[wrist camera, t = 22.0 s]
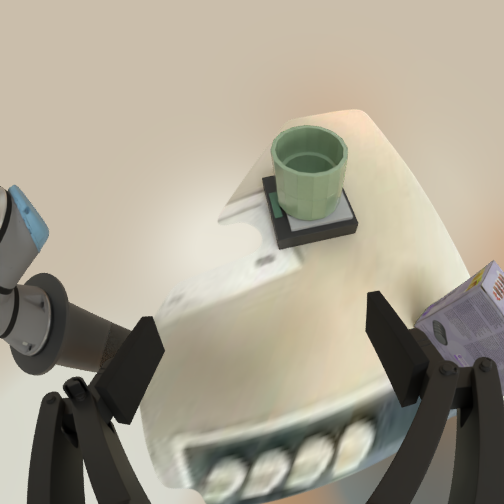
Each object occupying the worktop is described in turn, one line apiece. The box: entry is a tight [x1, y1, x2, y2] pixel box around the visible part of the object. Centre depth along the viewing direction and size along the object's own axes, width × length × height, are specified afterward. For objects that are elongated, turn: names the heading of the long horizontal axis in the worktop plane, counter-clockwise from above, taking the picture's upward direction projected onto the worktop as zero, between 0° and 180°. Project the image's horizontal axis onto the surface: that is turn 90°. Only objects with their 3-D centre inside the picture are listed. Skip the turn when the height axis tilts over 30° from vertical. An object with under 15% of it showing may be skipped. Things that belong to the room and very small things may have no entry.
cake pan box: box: [414, 260, 504, 396], centre depth 24 cm, size 19×5×18 cm, turn 37°
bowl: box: [271, 125, 348, 221], centre depth 39 cm, size 10×10×10 cm
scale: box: [262, 176, 358, 249], centre depth 45 cm, size 13×13×4 cm
